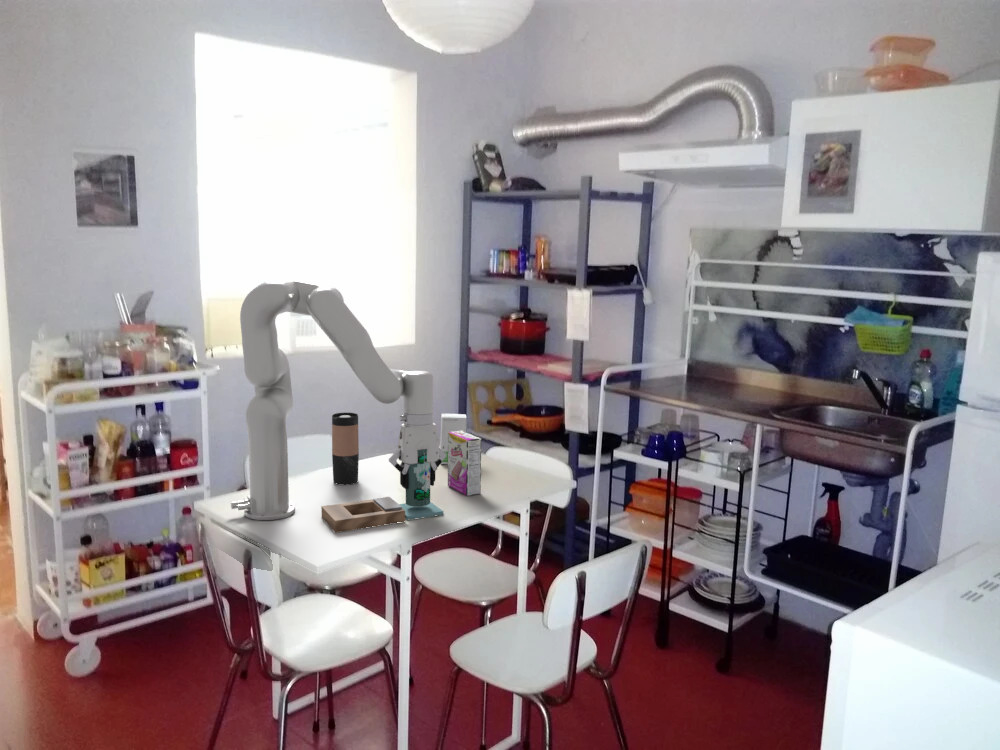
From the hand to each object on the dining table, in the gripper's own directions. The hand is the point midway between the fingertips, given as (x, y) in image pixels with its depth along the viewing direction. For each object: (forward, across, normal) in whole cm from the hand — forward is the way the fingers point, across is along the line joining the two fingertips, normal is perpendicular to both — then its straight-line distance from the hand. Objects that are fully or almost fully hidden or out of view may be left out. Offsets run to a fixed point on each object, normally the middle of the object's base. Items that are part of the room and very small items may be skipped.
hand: (417, 485), depth 205 cm
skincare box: (+7, +29, +41) cm, 51 cm away
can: (+5, 0, 0) cm, 5 cm away
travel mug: (+7, -9, +34) cm, 36 cm away
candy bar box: (+7, +19, +12) cm, 24 cm away
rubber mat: (+7, 0, 0) cm, 7 cm away
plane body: (+7, -15, 0) cm, 17 cm away
